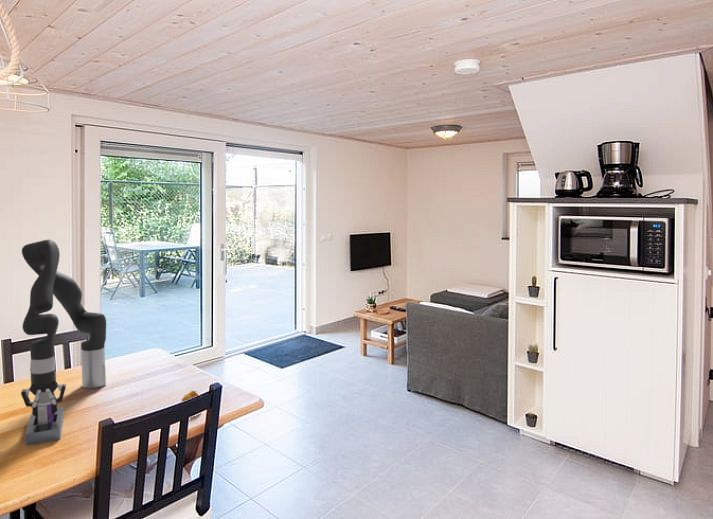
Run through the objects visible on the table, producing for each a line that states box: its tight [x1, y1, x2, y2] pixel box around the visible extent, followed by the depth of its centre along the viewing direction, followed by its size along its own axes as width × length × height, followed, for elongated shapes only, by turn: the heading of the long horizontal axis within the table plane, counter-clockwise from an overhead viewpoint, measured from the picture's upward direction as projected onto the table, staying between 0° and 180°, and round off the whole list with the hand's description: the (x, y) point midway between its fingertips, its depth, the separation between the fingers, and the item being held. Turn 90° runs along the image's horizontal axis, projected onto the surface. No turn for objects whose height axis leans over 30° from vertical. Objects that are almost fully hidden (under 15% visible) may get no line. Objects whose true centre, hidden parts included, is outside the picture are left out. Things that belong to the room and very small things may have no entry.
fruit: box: [180, 390, 200, 403], centre depth 194 cm, size 8×8×8 cm
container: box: [37, 391, 53, 425], centre depth 173 cm, size 5×5×15 cm
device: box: [24, 406, 65, 446], centre depth 174 cm, size 10×20×4 cm, turn 28°
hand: (45, 414), depth 173 cm, fingers closed on container, 4 cm apart
